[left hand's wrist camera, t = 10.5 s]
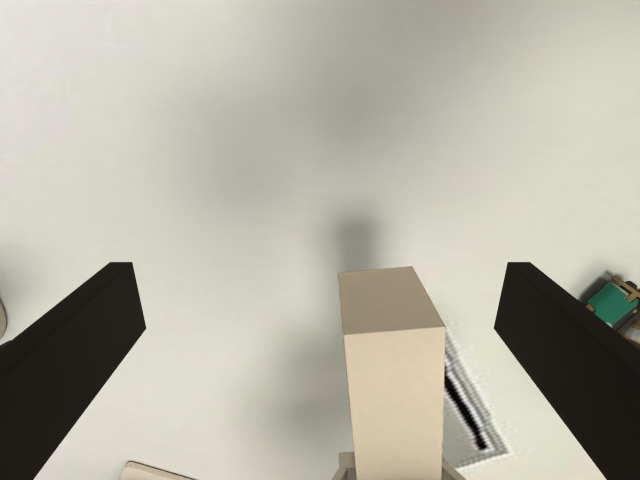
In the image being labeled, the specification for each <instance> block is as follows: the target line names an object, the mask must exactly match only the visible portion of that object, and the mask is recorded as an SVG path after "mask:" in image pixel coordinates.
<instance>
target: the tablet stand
mask: <svg viewBox="0 0 640 480" xmlns="http://www.w3.org/2000/svg"><path fill="white" fill-rule="evenodd" d="M120 480H192V479H188V478H185V477H181V476H178V475H175V474H171V473H168V472H165V471H161V470H158V469H154V468H151V467H148V466H144V465H141V464H138V463H134V462H128V463H127V464H126V466H125V468H124V470H123V472H122V475H121V478H120Z"/></svg>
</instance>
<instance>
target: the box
mask: <svg viewBox="0 0 640 480" xmlns="http://www.w3.org/2000/svg"><path fill="white" fill-rule="evenodd" d="M338 284H339V295H340V306H341V316H342V327H343V338H344V349H345V360H346V370H347V381H348V392H349V403H350V414H351V424H352V435H353V446H354V456H355V467H356V478H357V480H441V471H442V435H443V400H444V365H445V329H446V327H445V325H444V323H443V321H442V319H441V318H440V316H439V314H438V312H437V310H436V308H435V307H434V305H433V303H432V301H431V299H430V298H429V296H428V294H427V292H426V290H425V288H424V287H423V285H422V283H421V281H420V279H419V278H418V276H417V274H416V272H415V270H414V269H413V267H412V266H409V267H398V268H386V269H375V270H364V271H353V272H342V273H338Z"/></svg>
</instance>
